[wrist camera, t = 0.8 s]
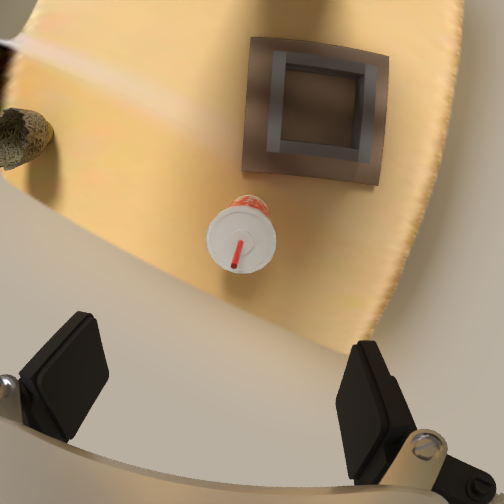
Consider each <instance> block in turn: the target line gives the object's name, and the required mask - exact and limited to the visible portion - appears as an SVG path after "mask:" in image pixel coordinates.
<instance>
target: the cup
mask: <svg viewBox="0 0 504 504" xmlns="http://www.w3.org/2000/svg"><path fill="white" fill-rule="evenodd" d="M3 113H4V114H3V115H2V117H0V162H1V163H0V167H4V170H5V171H6V170H11V169H14V168H15V167H18V166H20V165H22V164H24V163H27V162H29V161H31V160H33V159H34V158H36V157H37V156H39V155H40V154H41V153H42V152H43V150H44V149H45V147H46V146H47V145H48V144H49V143H50V141H51V140H52V137H53V128H52V126H51V124H50V123H49V122H47V121H46V120H45V118H44V117H43V116H42V115H41V114H39V113H37V112H35V111H31V110H24V109H16V108H9V109H4V110H3Z"/></svg>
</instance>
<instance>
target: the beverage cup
mask: <svg viewBox="0 0 504 504" xmlns="http://www.w3.org/2000/svg"><path fill="white" fill-rule="evenodd" d="M206 242H207V250H208V251H209V253H210V255H211V257H212V259H213V261H215V262H216V263H217V264H218V265H219V266H221V267H222V268H223V269H225V270H228V271H230V272H233V273H236V274H247V273H252V272H255V271H257V270H260V269H262V268H263V267H264V266H265V265H266V264H267V263H268V262H269V261H270V260H271V259H272V257H273V254H274V252H275V250H276V231H275V229H274V227H273V225H272V222H271V219H270V214H269V209H268V207H267V205H266V203H265V202H264V201H263V200H262V199H261V198H259V197H257V196H254V195H243V196H240V197H238V198H236V199H235V200H234V202H233V203H232V204H231V205H230V206H229V207H228V208H227V209H225V210H223V211H221V212H220V213H219V214H218V215H217V216H216V217H215V218H214V219H213V220H212V222H211V223H210V225H209V228H208V231H207V234H206Z"/></svg>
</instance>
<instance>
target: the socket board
mask: <svg viewBox="0 0 504 504" xmlns="http://www.w3.org/2000/svg"><path fill="white" fill-rule="evenodd" d="M388 76H389V56H385V55H381V54H376V53H372V52H368V51H363V50H358V49H353V48H348V47H342V46H336V45H330V44H324V43H317V42H309V41H301V40H291V39H280V38H265V37H251V42H250V55H249V68H248V82H247V96H246V111H245V126H244V141H243V157H242V171H249V172H262V173H274V174H286V175H296V176H306V177H315V178H324V179H332V180H340V181H348V182H355V183H363V184H370V185H376V186H378V183H379V176H380V169H381V161H382V153H383V144H384V134H385V123H386V111H387V96H388Z"/></svg>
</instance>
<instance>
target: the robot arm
mask: <svg viewBox="0 0 504 504" xmlns="http://www.w3.org/2000/svg"><path fill="white" fill-rule="evenodd" d="M19 375H20V377H21V378H20V379H19V380H17V379H16V377H14V376H12V375H8V374H7V375H0V504H504V494H503V493H500V494H499V495H498V494H497V493H496V483H495V481H494V479H493V478H492V476H491V475H489V474H488V473H486V472H484V471H482V470H480V469H477V468H475V467H473V466H471V465H468V464H467V463H464V462H462V461H460V460H458V459H456V458H454V457H452V456H450V455H448V454H447V450H448V447H447V443H446V441H445V439H444V438H443V437H442V436H441V435H440V434H439V433H437V432H435V431H433V430H429V429H420V430H417V427H416V425H415V423H414V420H413V418H412V415H411V413H410V410H409V408H408V405H407V403H406V401H405V399H404V396H403V394H402V392H401V389H400V387H399V385H398V382H397V380H396V378H395V377H394V376H391V375H390V373H389V371H388V368H387V366H386V364H385V362H384V359H383V357H382V355H381V353H380V350H379V348H378V346H377V344H376V342H375V341H358V343H357V345H353V346H352V349H351V352H350V356H349V359H348V362H347V366H346V369H345V372H344V375H343V379H342V382H341V385H340V388H339V391H338V394H337V397H336V409H337V415H338V420H339V425H340V430H341V436H342V442H343V447H344V453H345V458H346V465H347V470H348V476H349V479H354V485H355V486H337V487H264V486H249V485H238V484H228V483H220V482H212V481H205V480H199V479H192V478H186V477H181V476H176V475H171V474H166V473H162V472H157V471H153V470H149V469H145V468H140V467H137V466H133V465H129V464H126V463H122V462H119V461H116V460H112V459H109V458H106V457H103V456H100V455H97V454H94V453H91V452H88V451H85V450H83V449H80V448H77V447H74V446H72V445H69V444H67V443H68V441H69V439H70V440H71V439H73V438H74V436H75V435H76V433H77V431H78V429H79V427H80V426H81V424H82V422H83V421H84V419H85V417H86V416H87V414H88V412H89V410H90V409H91V407H92V405H93V404H94V402H95V400H96V399H97V397H98V395H99V394H100V392H101V390H102V389H103V387H104V385H105V384H106V382H107V380H108V378H109V370H108V366H107V362H106V359H105V354H104V351H103V346H102V342H101V338H100V333H99V329H98V324H97V320H96V319H95V318H94V317H93V315H92V314H91V313H86V312H81V311H78V312H76V313H75V314H74V315H73V316H72V317H71V318H70V319H69V320H68V321H67V322H66V323H65V324H64V325H63V326H62V327H61V328H60V329H59V330H58V331H57V332H56V333H55V334H54V335H53V336H52V337H51V339H50V340H49V341H48V342H47V343H46V344H45V345H44V346H43V347H42V348H41V349H40V350H39V351H38V352H37V353H36V354H35V356H34V357H33V358H32V359H31V360H30V361H29V362H28V363H27V364H26V366H25V367H24V368H23V369H22V370H21V371H20V372H19Z"/></svg>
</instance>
